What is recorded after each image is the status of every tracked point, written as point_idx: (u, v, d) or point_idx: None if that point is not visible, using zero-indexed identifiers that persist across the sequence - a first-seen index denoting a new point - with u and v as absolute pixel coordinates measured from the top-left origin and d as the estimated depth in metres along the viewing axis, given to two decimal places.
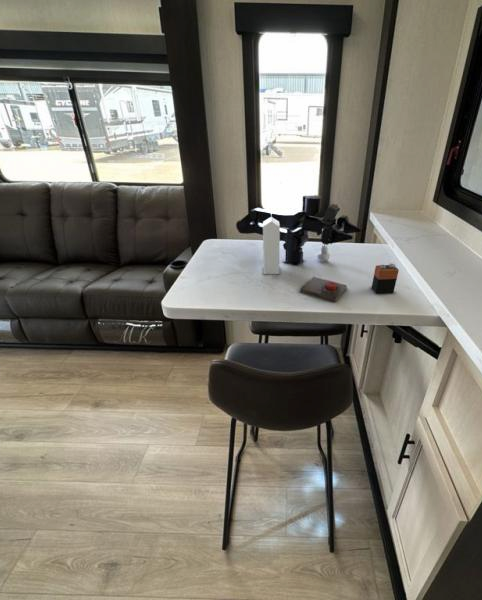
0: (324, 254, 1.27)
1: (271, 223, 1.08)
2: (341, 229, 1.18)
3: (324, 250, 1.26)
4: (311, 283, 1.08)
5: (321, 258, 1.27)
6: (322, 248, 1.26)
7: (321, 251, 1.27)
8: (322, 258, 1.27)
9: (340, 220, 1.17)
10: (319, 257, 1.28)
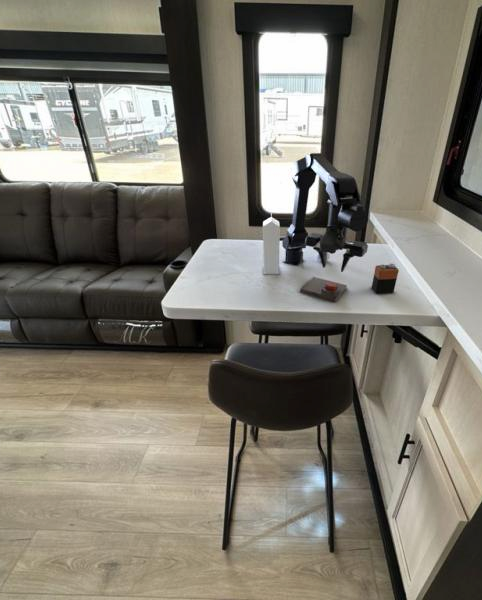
0: None
1: (271, 223, 1.08)
2: None
3: None
4: (311, 283, 1.08)
5: None
6: None
7: None
8: None
9: None
10: (319, 257, 1.28)
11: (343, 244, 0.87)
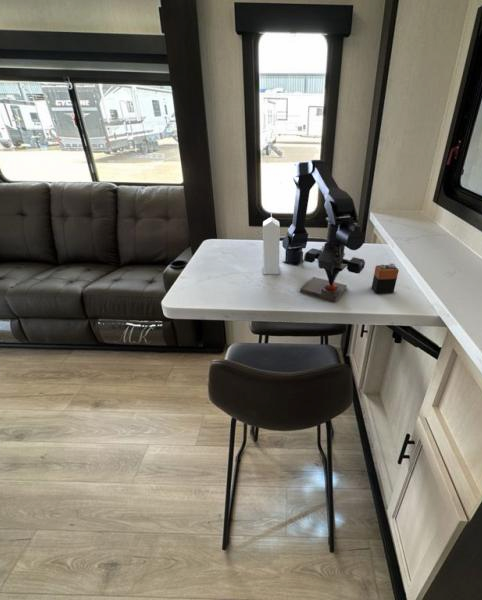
0: None
1: (271, 223, 1.08)
2: None
3: None
4: (311, 283, 1.08)
5: None
6: (322, 248, 1.26)
7: None
8: None
9: None
10: None
11: (341, 261, 0.90)
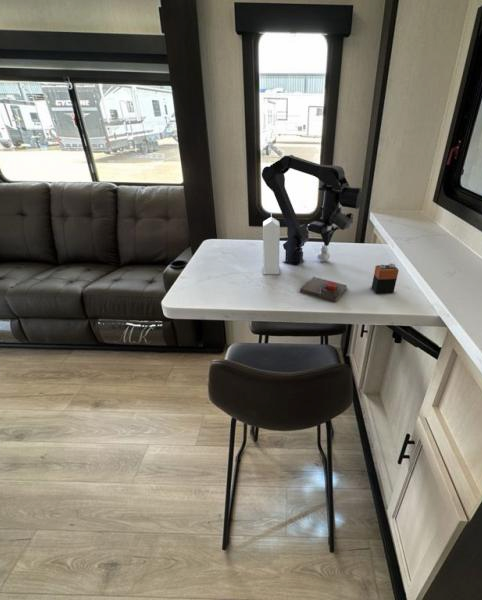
0: (324, 254, 1.27)
1: (271, 223, 1.08)
2: None
3: (324, 250, 1.26)
4: (311, 283, 1.08)
5: (321, 258, 1.27)
6: (322, 248, 1.26)
7: (321, 251, 1.27)
8: (322, 258, 1.27)
9: None
10: (319, 257, 1.28)
11: None
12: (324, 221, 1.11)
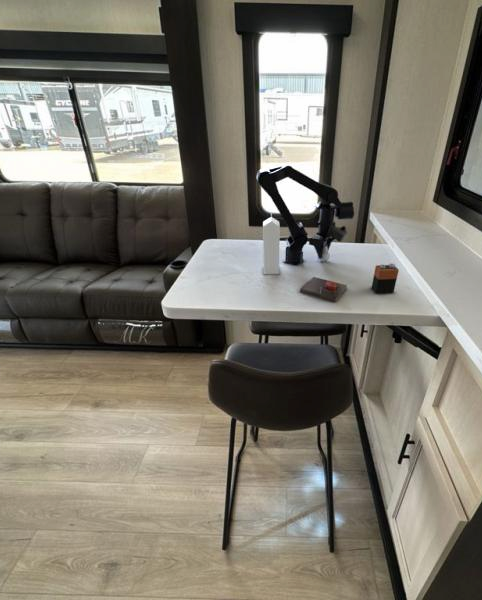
0: (324, 254, 1.27)
1: (271, 223, 1.08)
2: None
3: (324, 250, 1.26)
4: (311, 283, 1.08)
5: (321, 258, 1.27)
6: None
7: None
8: (322, 258, 1.27)
9: None
10: None
11: None
12: (322, 235, 1.23)
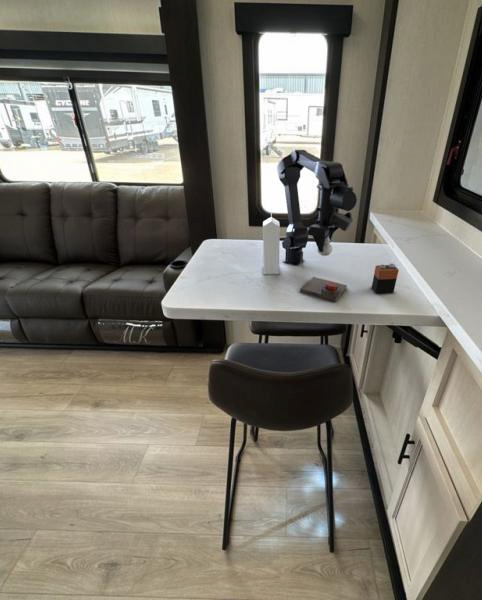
0: (326, 247, 1.06)
1: (271, 223, 1.08)
2: None
3: (326, 242, 1.05)
4: (311, 283, 1.08)
5: None
6: None
7: None
8: (323, 251, 1.06)
9: None
10: None
11: None
12: (322, 223, 1.01)
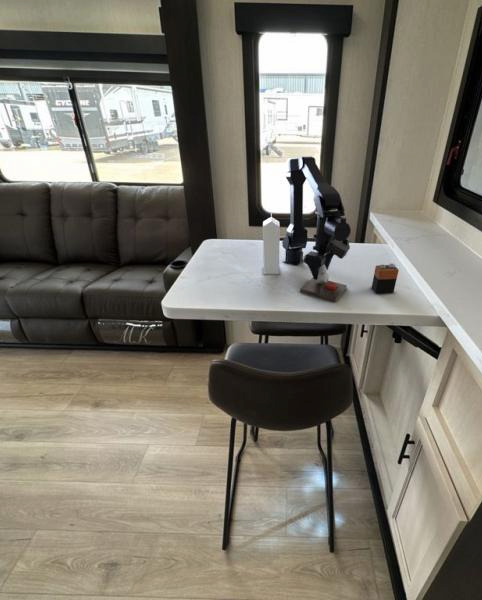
0: (322, 275, 1.06)
1: (271, 223, 1.08)
2: None
3: (322, 271, 1.05)
4: (311, 283, 1.08)
5: (318, 280, 1.06)
6: None
7: None
8: (319, 280, 1.06)
9: None
10: None
11: None
12: (319, 250, 1.01)
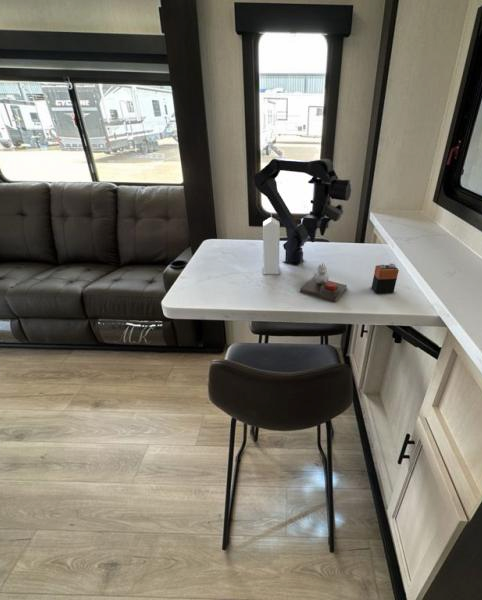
0: (322, 275, 1.06)
1: (271, 223, 1.08)
2: None
3: (322, 271, 1.05)
4: (311, 283, 1.08)
5: (318, 280, 1.06)
6: (319, 268, 1.05)
7: (318, 272, 1.06)
8: (319, 280, 1.06)
9: None
10: (316, 279, 1.07)
11: None
12: (316, 214, 1.11)
